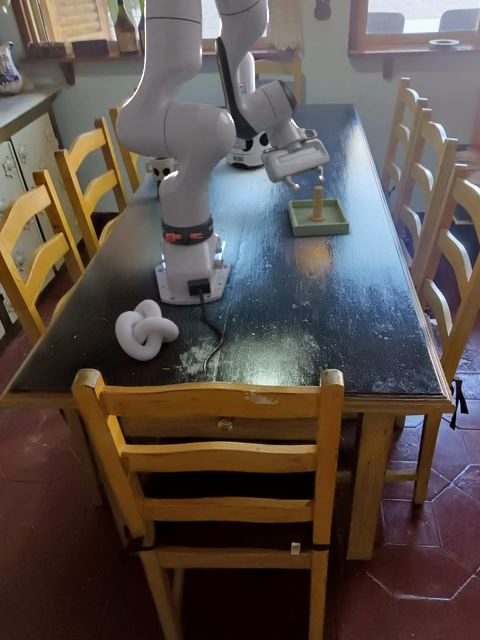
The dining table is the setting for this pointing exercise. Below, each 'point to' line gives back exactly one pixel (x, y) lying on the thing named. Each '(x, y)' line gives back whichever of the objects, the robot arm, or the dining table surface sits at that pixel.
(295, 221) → the tray
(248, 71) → the bottle
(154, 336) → the white trefoil knot
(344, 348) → the dining table surface
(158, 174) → the character mug
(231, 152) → the milk container
